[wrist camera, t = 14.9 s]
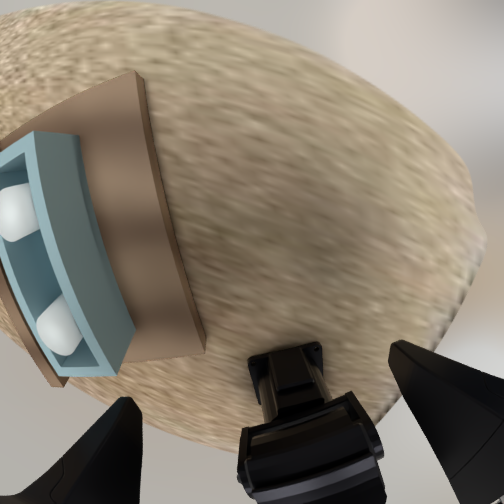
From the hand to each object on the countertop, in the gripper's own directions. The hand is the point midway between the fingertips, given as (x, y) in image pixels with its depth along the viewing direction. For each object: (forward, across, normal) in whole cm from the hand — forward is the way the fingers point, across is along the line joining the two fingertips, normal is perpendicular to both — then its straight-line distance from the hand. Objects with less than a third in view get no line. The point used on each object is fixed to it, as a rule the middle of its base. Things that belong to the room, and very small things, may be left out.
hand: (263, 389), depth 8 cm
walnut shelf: (+12, +11, -4) cm, 17 cm away
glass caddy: (+10, +11, -4) cm, 15 cm away
